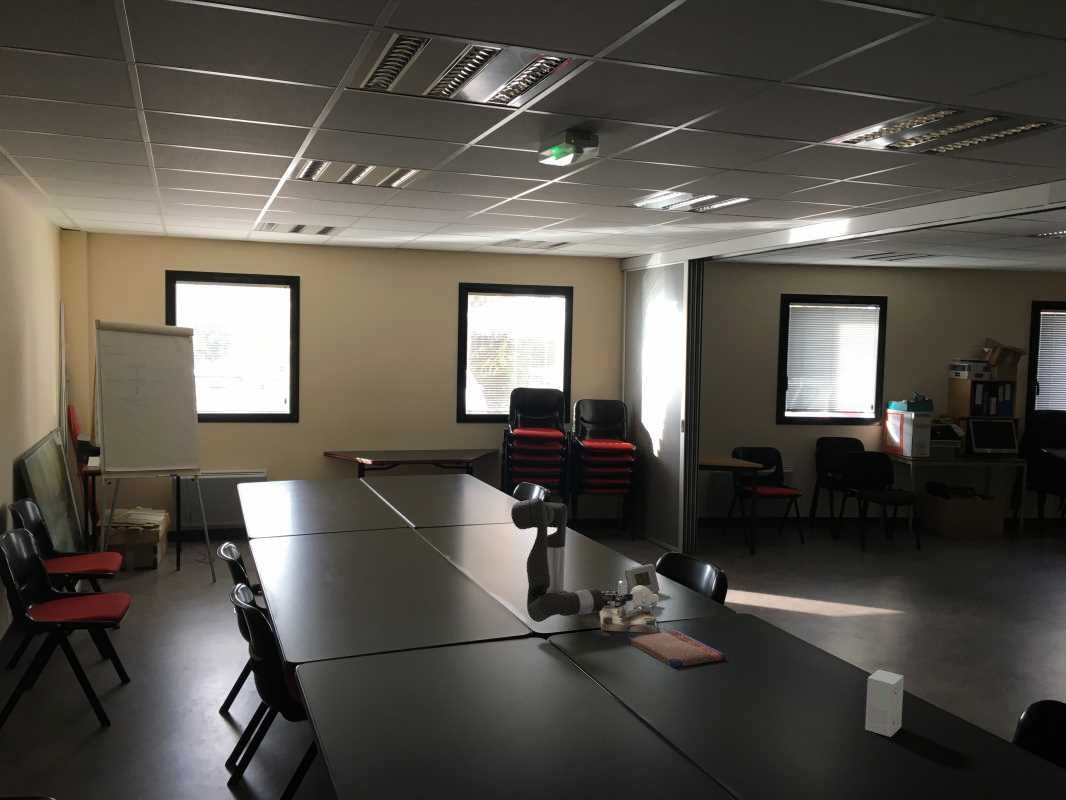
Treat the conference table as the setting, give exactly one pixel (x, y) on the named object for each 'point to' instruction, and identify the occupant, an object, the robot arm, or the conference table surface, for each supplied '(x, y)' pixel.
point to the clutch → (674, 648)
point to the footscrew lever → (622, 610)
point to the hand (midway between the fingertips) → (628, 595)
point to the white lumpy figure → (643, 596)
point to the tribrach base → (626, 621)
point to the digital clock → (642, 578)
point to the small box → (884, 702)
